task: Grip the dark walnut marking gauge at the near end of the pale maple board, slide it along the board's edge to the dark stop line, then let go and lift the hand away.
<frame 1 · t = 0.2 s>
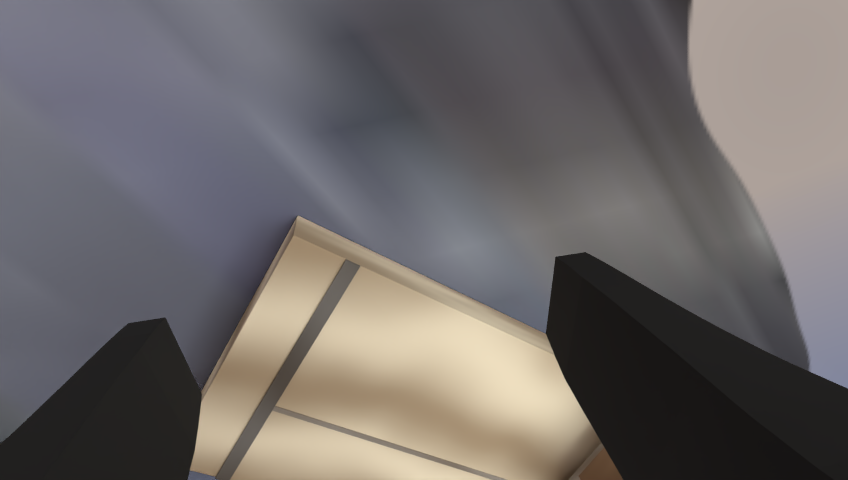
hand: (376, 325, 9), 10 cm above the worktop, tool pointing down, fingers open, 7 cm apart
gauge: (633, 470, 22), point 4 cm above the worktop, slide at -7.0 cm
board: (459, 412, 24), on the worktop
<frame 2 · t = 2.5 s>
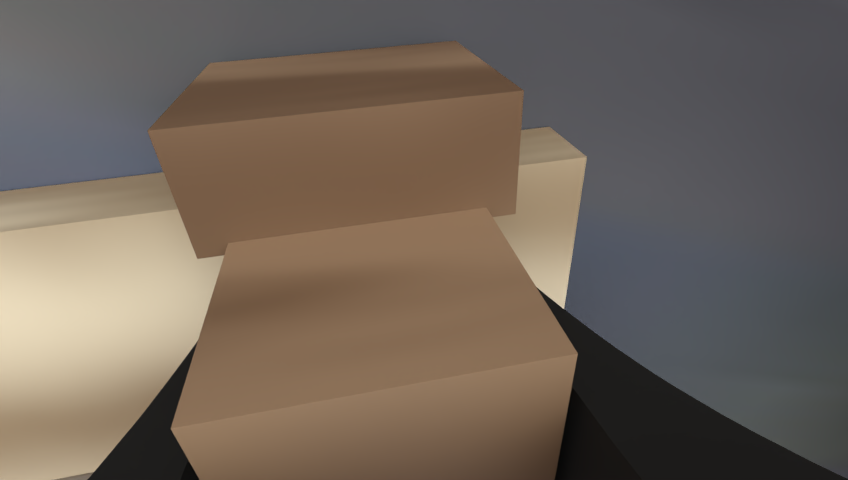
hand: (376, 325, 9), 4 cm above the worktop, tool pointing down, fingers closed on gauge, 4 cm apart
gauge: (381, 356, 9), point 4 cm above the worktop, slide at -7.0 cm, touching gripper
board: (137, 373, 14), on the worktop
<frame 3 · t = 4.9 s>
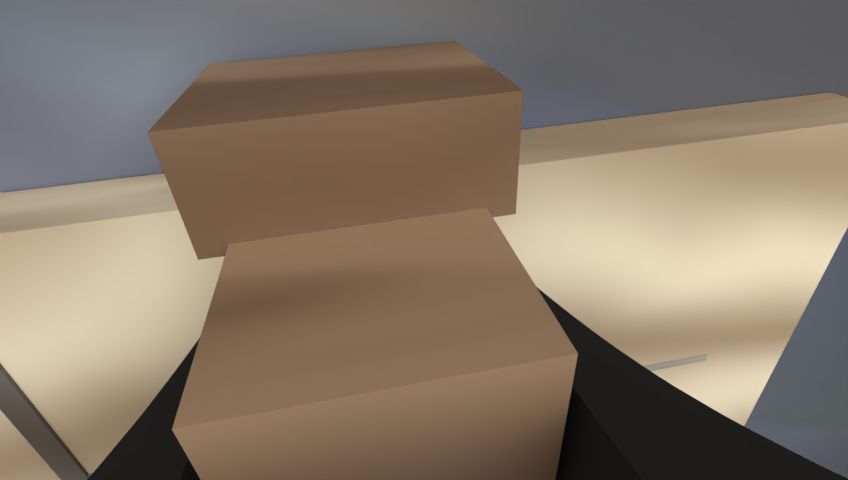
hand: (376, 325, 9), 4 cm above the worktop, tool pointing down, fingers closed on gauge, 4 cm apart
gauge: (381, 357, 9), point 4 cm above the worktop, slide at 1.1 cm, touching gripper
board: (414, 326, 15), on the worktop
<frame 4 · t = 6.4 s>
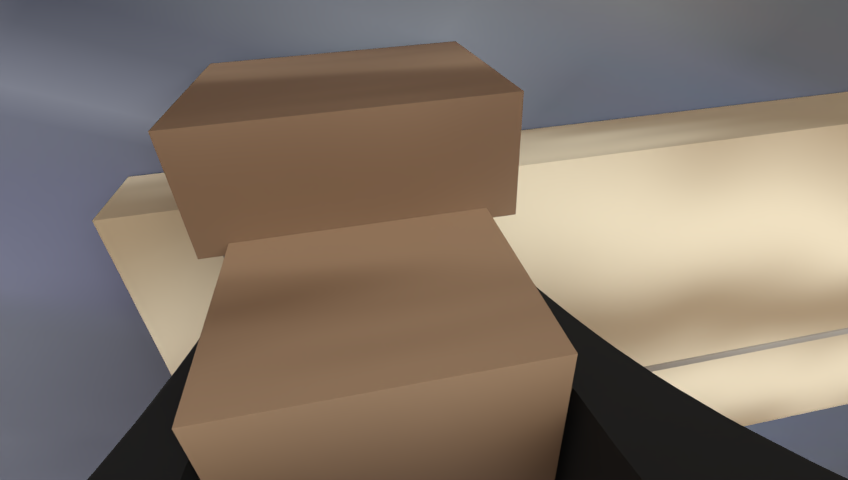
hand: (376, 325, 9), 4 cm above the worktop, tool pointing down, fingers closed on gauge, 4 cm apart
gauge: (381, 357, 9), point 4 cm above the worktop, slide at 7.0 cm, touching gripper
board: (588, 297, 15), on the worktop
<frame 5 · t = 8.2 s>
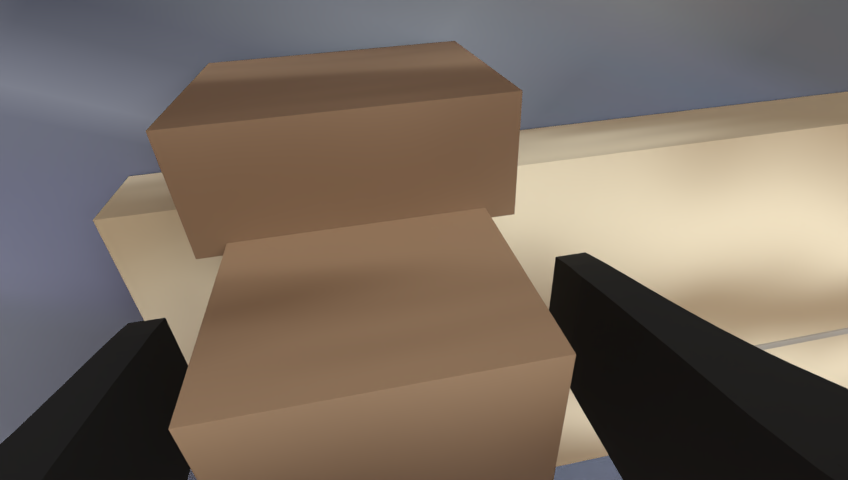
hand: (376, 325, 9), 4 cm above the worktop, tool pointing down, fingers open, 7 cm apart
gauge: (380, 357, 9), point 4 cm above the worktop, slide at 7.0 cm
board: (589, 297, 15), on the worktop
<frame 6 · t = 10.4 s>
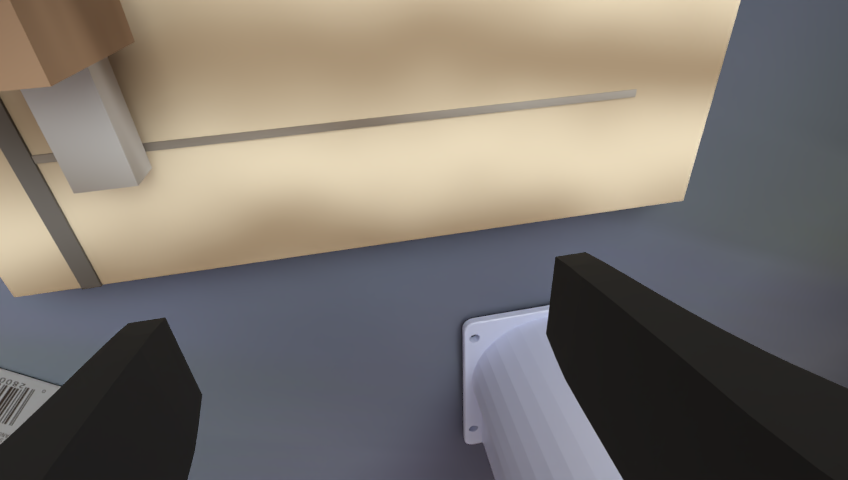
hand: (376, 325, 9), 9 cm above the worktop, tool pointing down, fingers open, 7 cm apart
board: (353, 58, 15), on the worktop
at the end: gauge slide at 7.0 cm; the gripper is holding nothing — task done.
